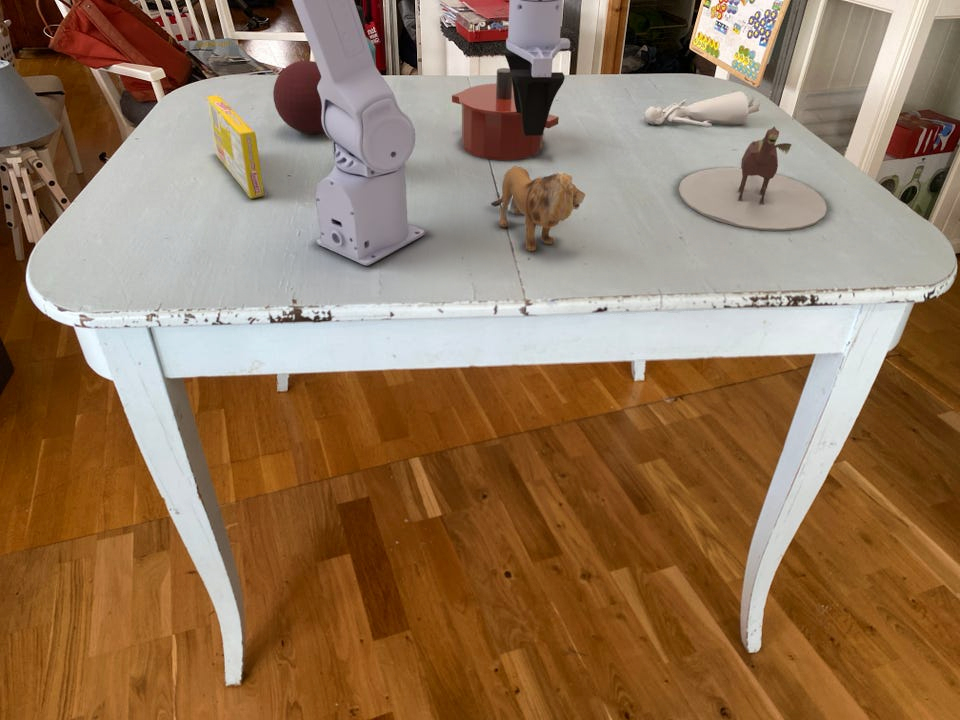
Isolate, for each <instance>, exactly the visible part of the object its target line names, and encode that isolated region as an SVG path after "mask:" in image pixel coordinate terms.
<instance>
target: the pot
mask: <svg viewBox="0 0 960 720" xmlns="http://www.w3.org/2000/svg"><path fill="white" fill-rule="evenodd" d="M461 92H462V91H460V92H457V93H455V94H452V95H451V103H453V104H454V103H455V104H458V105H461V104H460V102H459V95H460V93H461ZM559 118H560V117H559V116H557V115H553V114H550V113H549V115H548V119H547V122H546V126H545V129H551V128H553V127H555V126H557V125H559ZM544 133H545V131H544V132H543V134H542V135H541V136H525V135H524V131H523V126H522V118H521V115H512V116H502V115H490V114H484V113H479V112H475V111H472V110H469V109H467V108H465V107H464V106H462V105H461V143H462V148H463V150H464V151H465V152H466V153H468V154H470V155H472V156H475V157H477V158H481V159H486V160H492V161H517V160H524V159H528V158H530V157H533V156H535V155H537V154H539V153H540V152H541V151H542V149H543V145H544V135H545V134H544Z"/></svg>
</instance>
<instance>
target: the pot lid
mask: <svg viewBox="0 0 960 720" xmlns="http://www.w3.org/2000/svg"><path fill="white" fill-rule="evenodd" d="M495 82H496V83H484V84H478V85H473V86H470V87H468V88H466V89H464V90H462V91H460V92H461V93H460V92H459V93H460V95H459V102H460V104H459V105H461V107H462V106H464V107H465V108H467V109H469V110H472V111H475V112H479V113H484V114H490V115H502V116H512V115H521V113H517V111H516V107H515V102H514V93H513V85H512V78H511V73H510V69H509V67H500V68H497V70H496V81H495Z"/></svg>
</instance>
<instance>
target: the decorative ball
mask: <svg viewBox="0 0 960 720" xmlns="http://www.w3.org/2000/svg"><path fill="white" fill-rule="evenodd" d="M320 79H321V74H320V71H319V69H318V66H317V64H316V61H312V60H300V61H299V60H298V61H295V62H292V63H290V64H289V65H287V66H285V68H284V69H282V70H281V71H280V73H279V74H278V76H277V78H276V79H275V82H274V84H273V91H272V95H273V104H274V106H275V109H276V111H277V113H278V115H279V117H280V118H281V119H282V121H283V122H284V123H285V124H286V125H287V126H289V127H290V128H291V129H293V130H295V131H297V132H300V133H303V134H310V135H311V134H319V133H323V132H325V131H324V129H323V126H322V120H321V115H322V102H321V98H320V95H319V92H318V90H317V86H318V84H319V82H320Z"/></svg>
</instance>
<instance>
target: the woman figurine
mask: <svg viewBox="0 0 960 720" xmlns="http://www.w3.org/2000/svg"><path fill="white" fill-rule="evenodd" d="M686 101H687V99H683V100H681V101H680V102H673V103H672V104H670V105H668V106H667V107H665V108H664V109H663V108H662V107H660V106H658V107H654V106H653V105H651V106H650V107H648V108H647V109H646V110H645V112H644V120H645V122H646V123H647V124H649V125H653V126H659V125H661V124H662V123H664V122H665V120H666V121H668V122H670V123H673V124H674V123H682V124H683V123H684V124H690V125H697V126H701V127H704V128H712V127H713V124H720V125H733V126H734V125H735V126H742V125H744V124H745V123H746V122H747V119H748V116H749V115H750V114H755V113H757V112H759V111H760V107H761V104H762V103H761V101H760V100H759V99H757V102H756V103H755V104H754V102H755V96H754V95H751V98H750V99H749V100H748V96H747V95H746V94H745V93H744V92H743V91H741V90H739V91H735V92H731V93H726V94H723V95H719V96H716V97H711V98H708V99H704V100H700V101H696V102H694V103H691V104H689V105H686ZM684 105H686V106H684ZM685 117H687V118H685Z"/></svg>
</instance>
